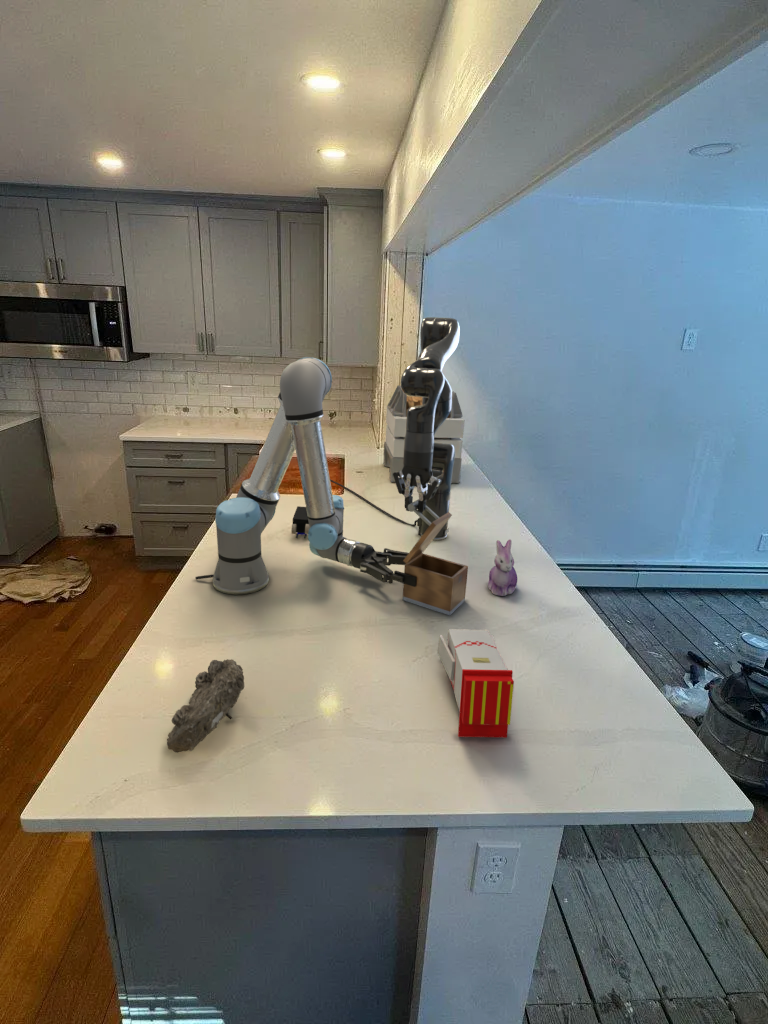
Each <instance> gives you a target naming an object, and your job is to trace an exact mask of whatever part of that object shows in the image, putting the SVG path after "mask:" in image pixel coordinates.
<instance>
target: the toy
mask: <svg viewBox="0 0 768 1024" xmlns="http://www.w3.org/2000/svg"><path fill="white" fill-rule="evenodd" d="M446 640H447V643H446V641H445V639H444V636H443V635H442V634H439V637H438V646H437V656H438V657H439V659H440V661H441V663H442V666H443V668H444V670H445V672H446V674H447V677H448V679H449V681H450V684H451V687H452V690H453V693H454V697H455V701H456V705H457V708H458V711H459V714H458V715H459V716H458V730H457V731H458V732H457V737H458V738H508V731H509V726H510V725H511V717H512V707H513V697H514V696H513V695H514V684H515V680H514V679H513V673H514V671H513V670H512V669H508V667H507V665H506V662H505V661H504V659H503V658H502V655H501V653H500V651H499V649H498V647H497V643H496V639H495V637H494V635H493V634H491V632H490V631H489V629H467V628H466V629H465V628H463V629H461V628H460V629H459V628H448V630H447V639H446Z"/></svg>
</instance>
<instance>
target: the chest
mask: <svg viewBox="0 0 768 1024" xmlns="http://www.w3.org/2000/svg"><path fill="white" fill-rule="evenodd" d="M403 569H404V570H403V573H406V574H409V575H412V576H416V577H417V583H416V587H413V586H410V585H407V584H404V583H403V585H402V586H403V588H402V598H401V599H402V601H405V602H408V603H411V604H413V605H416V606H420V607H422V608H426V609H428V610H431V611H435V612H436V613H437V612H438V613H440V614H443V615H444V614H445V615H447V616H451V615H452V614H453V613H454V612H455V611H456V610H457V609H458V608H460V607H461V606H462V605H463V604H464V603H465V602H466V593H467V582H468V572H469V566H468V565H466V564H462V563H459V562H456V561H452V560H448V559H444V558H441V557H438V556H435V555H430V554H428V553H427V554H426V553H424V552H423V553H421V554H420V555H419V556H417V557H416V558H414V559H413V560H411V561H410V562H408V563H407V564H405V565H404V568H403Z"/></svg>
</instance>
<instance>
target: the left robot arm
mask: <svg viewBox="0 0 768 1024" xmlns="http://www.w3.org/2000/svg"><path fill="white" fill-rule="evenodd" d="M332 383H333V376H332V372H331V370H330V368H329V367H328V365H327V364H326V363H325V362H323V360H321V359H319V358H316V357H311V356H305V357H301V358H299V359H297V360H295V361H293V362H291V363H289V364H288V365H287V366H286V367H285V368H284V369H283V371H282V372H281V374H280V379H279V390H280V391H279V393H278V395H277V399H278V401H279V403H280V406H279V408H278V410H277V413H276V415H275V418H274V419H273V422H272V424H271V427H270V428H269V431H268V434H267V437H266V438H265V441H264V444H263V445H262V448H261V451H260V454H259V455H258V458H257V461H256V463H255V466H254V467H253V470H252V473H251V475H250V477H249V478H246V479H243V481H242V483H241V484H240V487H239V488H238V489H239V490H238V492H237V494H236V497H233V498H229V499H226V500H224V501H222V502H220V504H218V506H217V507H216V509H215V516H214V517H215V518H214V521H215V526H216V527H215V528H216V543H217V554H218V555H217V557H218V558H217V562H216V565H215V568H214V572H213V574H205V575H198V576H195V580H197V581H198V580H204V579H212V584H213V588H215V590H216V591H218V592H220V593H223V594H227V595H235V596H236V595H238V596H239V595H248V594H253V593H255V592H259V591H260V590H262V589H264V588H265V587H267V586H268V584H269V582H270V580H269V579H270V577H269V571H268V568H267V567H266V563H265V561H264V559H263V556H262V533H263V532H264V531H265V529H266V528H267V526H268V525H269V524H270V522H271V521H272V520H273V518H274V516H275V513H276V509H277V505H278V503H279V501H280V499H281V494H280V492H279V489H280V486H281V484H282V481H283V479H284V477H285V474H286V472H287V470H288V468H289V465H290V463H291V461H292V458H293V456H294V454H295V453H296V461H297V465H298V471H299V476H300V481H301V487H302V493H303V498H304V504H305V507H306V509H307V515H308V521H309V527H310V529H309V532H308V534H307V539H308V542H309V543H308V548H309V550H310V552H311V553H312V554H313V555H314V556H315V555H316V556H318V557H320V558H322V559H326V560H330V561H334V562H336V563H340V564H344V565H346V566H347V567H353V568H356V569H358V570H359V572H360V573H363V574H366V575H369V576H370V577H372V578H374V579H376V580H378V581H380V582H382V583H384V584H387V583H388V584H393V583H394V581H395V582H397V583H400V584H403V585H404V584H407V585H410V586H413V587H416V583H417V577H416V576H412V575H409V574H406V573H404V571H403V572H402V571H399V570H394V571H393V570H392V569H391V568H389V566H391V565H397V566H405V564H406V563H405V562H404V561H403V560H404V559H405V558H406V556H407V555H408V554H409V552H407V551H400V550H394V549H390V548H387V547H385V548H383V551H377V550H375V548H374V546H373V545H372V544H368V543H364V542H361V541H358V540H354V539H350V538H347V537H344V513H345V512H344V511H345V505H344V504H345V503H344V499H343V497H342V496H339V495H337V494H333V490H332V489H333V488H332V484H331V483H332V482H331V481H330V480H331V477H330V472H329V465H328V458H327V453H326V446H325V441H324V434H323V428H322V422H321V420H322V418H323V417H324V410H323V409H324V408H323V402H324V400H325V399H326V398H325V397H326V396H327V395H328V393H329V392H330V390H331V388H332Z"/></svg>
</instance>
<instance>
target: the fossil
mask: <svg viewBox="0 0 768 1024" xmlns="http://www.w3.org/2000/svg"><path fill="white" fill-rule="evenodd" d="M243 670H244V669H243V667H242V665H240V664H237V662H236V661H235V660H234V659H232V658H231V659H227V658H226V659H224V660H223V661H222V660H217V659H212V660H211V661H210V663H209V665H208V666H207V671H201V672H199V673H198V674H197V675H196V676H195V680H194V684H195V685H194V687H195V689H194V690H193V693H192V694H191V697H190V698H189V700H188V704H184V705H182V706H181V707H180V709H177V710H176V711H175V713H174V715H173V716H172V718H171V723H172V724H173V727H172V730H171V731H170V732H168V734H167V738H166V741H167V742H166V745H167V749H168V750H169V751H173V752H174V753H176V754H178V753H182V752H188V751H189V752H192V751H193V750H195V748H196V747H197V746H199V744H200V743H201V742H203V741H204V740H205V739H206V738H207V737H208V736H209V735H210V734H211V733H212V732H214V730H215V729H217V727H218V726H219V724H220V722H221V721H222V720H223V719H224V718H225V716H226V717H227V719H229V720H233V717H232V715H230V714H229V710H230V709H231V708H234V706H235V704H236V703H237V702H238V699H239V697H240V695H241V693H242V691H243V690H245V689H244V688H245V675H244V671H243Z"/></svg>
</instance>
